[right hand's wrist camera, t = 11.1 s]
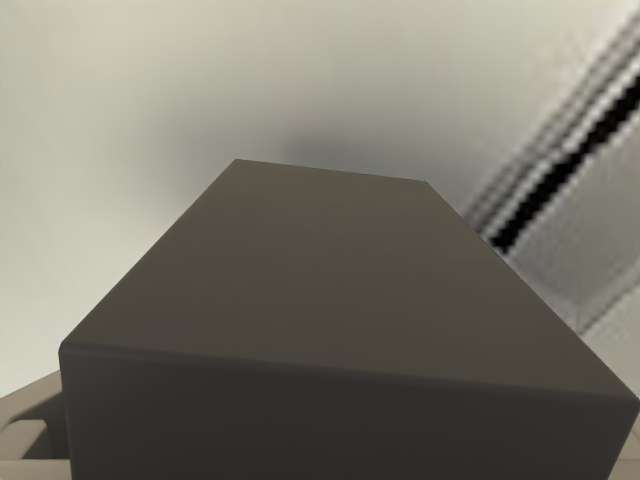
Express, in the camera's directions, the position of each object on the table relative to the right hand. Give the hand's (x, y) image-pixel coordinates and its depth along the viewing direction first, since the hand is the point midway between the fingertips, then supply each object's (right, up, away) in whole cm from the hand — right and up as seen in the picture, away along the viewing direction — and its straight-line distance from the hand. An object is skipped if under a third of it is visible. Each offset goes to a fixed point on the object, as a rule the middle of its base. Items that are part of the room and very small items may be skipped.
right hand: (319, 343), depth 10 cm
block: (-1, -9, +7) cm, 11 cm away
